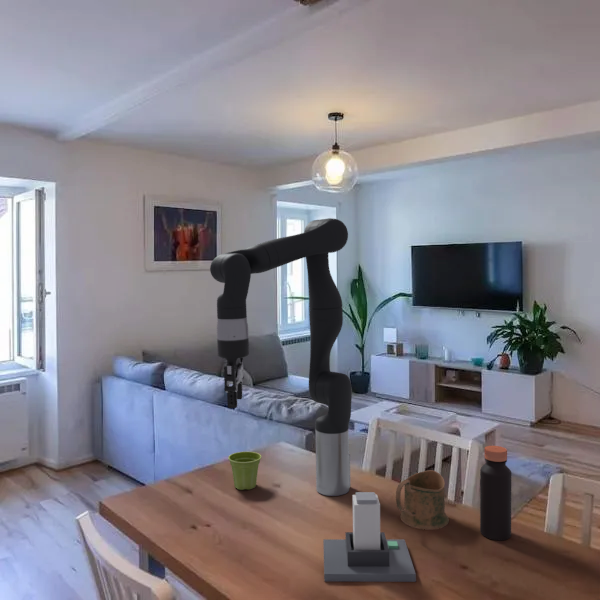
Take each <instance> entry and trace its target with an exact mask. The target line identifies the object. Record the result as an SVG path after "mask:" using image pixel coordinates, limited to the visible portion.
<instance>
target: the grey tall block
mask: <svg viewBox="0 0 600 600" xmlns="http://www.w3.org/2000/svg"><path fill="white" fill-rule="evenodd" d="M352 532H353V550H380V532H381V503H380V500H379V497H378V494H376V493H375V492H374V491H373V492H372V491H369V492H368V491H365V492H364V491H359V492H357V491H356V492H355V494H352Z"/></svg>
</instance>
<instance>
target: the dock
mask: <svg viewBox="0 0 600 600" xmlns="http://www.w3.org/2000/svg"><path fill="white" fill-rule="evenodd" d="M410 555H411V554H410V551H409V549H408V545H407V543H406V539H404V538H403V539H400V538H399V539H390V538H389V539H388V538H386V533H385V531H384V532H382V531H380V550H353V531H352V532H349V531H346V532H345V539H344V538H343V539H341V538H340V539H333V538H332V539H331V538H330V539H328V538H327V539H326V538H325V539H323V580H324V581H323V582H365V583H367V582H369V583H370V582H371V583H372V582H374V583H375V582H383V583H384V582H394V583H395V582H397V583H398V582H400V583H401V582H408V583H409V582H413V583H414V582H415V583H416V582H417V574H416V570H415V568H414V565H413V561H412V558H411V556H410Z"/></svg>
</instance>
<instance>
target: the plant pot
mask: <svg viewBox="0 0 600 600" xmlns="http://www.w3.org/2000/svg"><path fill="white" fill-rule="evenodd" d="M227 459H228V461H229V463H230V467H231V470H232V471H231V472H232V477H233V485H234V488H237V490H240V491H243V490H244V491H245V490H249V491H250V490H253V489H254V488H256V486H257V480H258V471H259V464H260V462H261V459H262V455H261V454H260V453H258V452H256V451H239V452H238V451H237V452H234V453H231V454H230V455H228V458H227Z"/></svg>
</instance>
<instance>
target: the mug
mask: <svg viewBox="0 0 600 600" xmlns="http://www.w3.org/2000/svg"><path fill="white" fill-rule="evenodd" d="M445 485H446V484H445V479H444V477H443V476H442V475H441V473H439V472H438V471H436V470H432V469H431V470H424V471H420V472H417V473H415V474H412V475H410V476H408V477H407V478H406V479H404V480H403V481H401V482H399V484H398V485H397V486H396V490H395V504H396V507H397V509H398V510H399V511H401V513H400V520H401V522H403V524H405V525H407V526H409V527H410V528H413V529H419V530H424V529H425V530H426V531H432V530H433V531H435V530H440V529H443V528H445V527H446V526H447V525H448V524H449V519H450V518H449V517H448V515H447V514H446V511H445V510H446V509H445V508H446V504H445V503H446V501H445V492H446V490H445ZM403 488H404V502H403V503H404V505H403V506H404V508H403V506H402V502H401V501H402V500H401V493H402V489H403ZM439 528H440V529H439ZM425 530H424V531H425Z"/></svg>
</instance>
